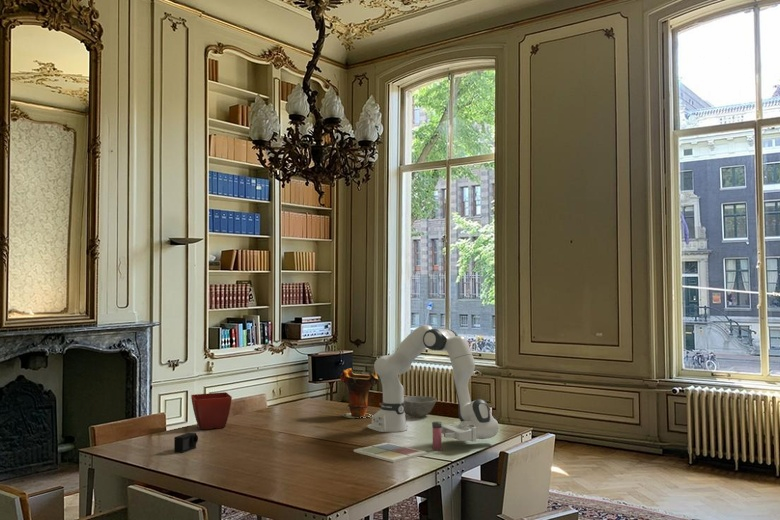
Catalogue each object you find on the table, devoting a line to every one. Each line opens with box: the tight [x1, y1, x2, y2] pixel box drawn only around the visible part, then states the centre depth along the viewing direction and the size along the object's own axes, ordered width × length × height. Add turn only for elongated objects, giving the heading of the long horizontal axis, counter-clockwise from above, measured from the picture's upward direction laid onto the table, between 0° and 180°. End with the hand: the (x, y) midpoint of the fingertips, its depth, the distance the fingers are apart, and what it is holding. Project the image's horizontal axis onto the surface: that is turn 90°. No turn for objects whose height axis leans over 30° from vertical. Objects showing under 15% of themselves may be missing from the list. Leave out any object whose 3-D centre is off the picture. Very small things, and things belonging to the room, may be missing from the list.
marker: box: [431, 421, 443, 451], centre depth 289 cm, size 4×4×12 cm
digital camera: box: [173, 432, 199, 454], centre depth 291 cm, size 10×5×7 cm, turn 161°
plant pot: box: [190, 391, 233, 430], centre depth 344 cm, size 19×19×17 cm
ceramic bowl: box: [404, 395, 438, 418], centre depth 371 cm, size 22×23×10 cm
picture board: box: [353, 442, 428, 463], centre depth 282 cm, size 26×20×1 cm
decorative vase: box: [339, 367, 379, 419], centre depth 373 cm, size 20×22×27 cm
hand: (439, 433), depth 290 cm, fingers open, 8 cm apart
